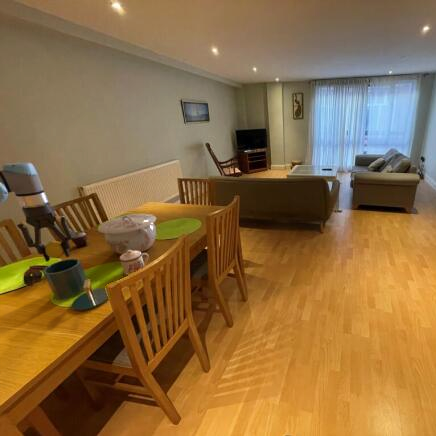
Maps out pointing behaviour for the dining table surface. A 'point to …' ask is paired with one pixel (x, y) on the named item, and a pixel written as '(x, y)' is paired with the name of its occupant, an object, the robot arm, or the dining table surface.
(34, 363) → the dining table surface
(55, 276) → the blue cylindrical pot
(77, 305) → the pot lid
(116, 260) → the dining table surface
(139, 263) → the teacup with lid
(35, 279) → the pottery mug
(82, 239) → the mate gourd
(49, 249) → the lemon
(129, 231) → the chamber pot
